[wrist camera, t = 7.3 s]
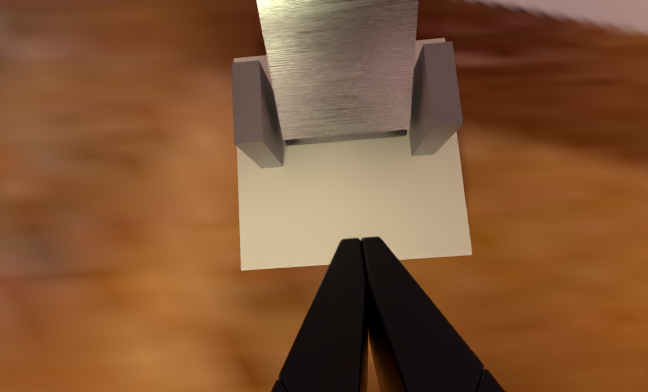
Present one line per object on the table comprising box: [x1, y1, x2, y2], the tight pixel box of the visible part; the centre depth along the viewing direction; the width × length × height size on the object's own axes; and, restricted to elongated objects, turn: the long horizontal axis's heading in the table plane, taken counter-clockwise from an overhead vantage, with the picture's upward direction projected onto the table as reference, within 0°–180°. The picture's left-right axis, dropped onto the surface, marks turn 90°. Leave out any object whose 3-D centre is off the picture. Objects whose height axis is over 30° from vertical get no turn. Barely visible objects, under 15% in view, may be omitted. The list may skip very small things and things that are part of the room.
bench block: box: [232, 38, 472, 270], centre depth 15 cm, size 10×10×6 cm
